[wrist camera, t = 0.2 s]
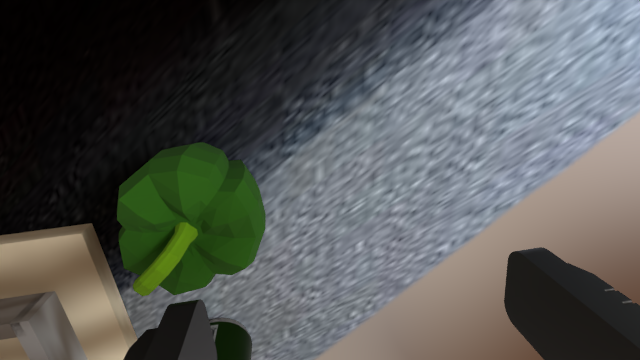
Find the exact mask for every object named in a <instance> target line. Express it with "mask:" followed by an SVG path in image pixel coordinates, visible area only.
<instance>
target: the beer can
mask: <svg viewBox="0 0 640 360" xmlns="http://www.w3.org/2000/svg"><path fill="white" fill-rule="evenodd" d="M209 323H210V326H211V330H212V334H213V338H214V342H215V346H216V351H217V360H251V351H252V341H251V337H250V335H249V333H248V331H247V329H246V328H245V327H244V325H242V324H241V323H239V322H238V321H236V320H233V319H230V318H216V319H212V320H209Z"/></svg>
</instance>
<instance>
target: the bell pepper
mask: <svg viewBox="0 0 640 360" xmlns="http://www.w3.org/2000/svg"><path fill="white" fill-rule="evenodd" d="M117 220H118V221H119V223H120V224H121V225H122V228H121V230H120V231H119V245H120V250H121V255H122V261H123V266H124V269H126V270H129V271H131V272H133V273H136V274H138V275H140V276H139V277H138V278H137V279H136V280H135V282H134V284H133V288H134V291H135V292H137V293H139V294H140V295H142V296H146V295H149V294H150V293H151V292H152V291H153V290H154V289H155V288H156V287H157V286H158V285H159V286H161V287H162V288H164V289H165V290H167V291H169V292H170V293H172V294H173V295H177V294H181V293H185V292H188V291H192V290H196V289H200V288H203V287H206V286H207V285H208V284H209V283H210V282H211V280H212V279H213V277H214V276H215V274H227V275H233V274H235V273H237V272H239V271H241V270H243V269H245V268H246V267H248V266H249V265H250V264H251V263H252V262H253V261H254V259H255V256H256V253H257V251H258V248H259V245H260V242H261V239H262V236H263V233H264V231H265V210H264V206H263V202H262V198H261V194H260V190H259V188H258V185H257V183H256V181H255V179H254V178H253V176H252V174H251V173H250V172H249V170H248V169H247V168H246V166H245V165H244V163H243V162H242V161H241V160H231V161H228V159H227V157H226V155H225V154H224V152H223V150H220V149H218V148H216V147H213V146H211V145H209V144H206V143H204V142H201V143H194V144H189V145H184V146H179V147H174V148H169V149H165V150H161V151H160V152H159V153H158V154H157V155H155V156H154V157H153V158H152V159H151V160H149V161H148V162H147V163H146V164H145V165H144V166H142V167H141V168H140V169H139V170H138V171H136V172H135V173H134V174H133V175H132V176H131V177H129V178H128V179H127V180H126V181H125V182H124V183H122V184H121V185H120V186H119V195H118V205H117Z"/></svg>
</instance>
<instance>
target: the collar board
mask: <svg viewBox="0 0 640 360" xmlns="http://www.w3.org/2000/svg"><path fill="white" fill-rule="evenodd" d="M137 340H138V339H137V337H136V334H135V332H134V329H133V327H132V324H131V321H130V319H129V316H128V314H127V311H126V309H125V306H124V304H123V301H122V298H121V296H120V293H119V291H118V288H117V286H116V283H115V281H114V278H113V275H112V273H111V270H110V268H109V265H108V263H107V260H106V258H105V255H104V253H103V250H102V247H101V245H100V242H99V240H98V237H97V235H96V232H95V230H94V227H93V224H92V223H89V224H82V225H75V226H67V227H60V228H53V229H45V230H38V231H30V232H23V233H16V234H8V235H1V236H0V360H123V359H124V357H125V355H126V353H127V351H128V350H129V348H130V347H131V346H132V345H133V344H134V343H135V342H136V341H137Z"/></svg>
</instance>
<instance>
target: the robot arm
mask: <svg viewBox="0 0 640 360" xmlns="http://www.w3.org/2000/svg"><path fill="white" fill-rule="evenodd" d="M504 299H505V300H504V303H505V308H506V312H507V314H508V316H509V319H510V320H511V322H512V324H513V325H514V326H515V327H516V328H517V329H518V331H519V332H520V333H521V334H522V335H523V336H524V337H525V339H526V340H527V341H528V342H529V343H530V344H531V345H532V346H533V348H534V349H535V350H536V351H537V352H538V353H539V354H540V355H541V357H542V358H543V359H544V360H640V306H639V305H638V304H637V303H632V301H631V299H629V298H628V297H626V296H625V295H623V294H622V293H620V292H619V291H615V290H614V288H613V287H612V286H610V285H609V284H607V283H606V282H604V281H603V280H601V279H600V278H598V277H597V276H596V275H594V274H592V273H590V272H587V271H585V270H582V269H580V268H578V267H576V266H573V265H571V264H569V263H568V264H567V263H566V262H564V261H563V260H561V259H560V258H559V257H557V256H556V255H554V254H553V253H552V252H550V251H549V250H547V249H545V248H534V249H528V250H522V251H515V252H512V253H511V254H510V255H509V258H508V266H507V277H506V287H505V298H504ZM123 360H217V351H216V346H215V342H214V338H213V334H212V330H211V326H210V323H209V319H208V315H207V311H206V307H205V304H204V302H203V301H202V300H194V301H188V302H181V303H175V304H170V305H169V306H168V307H167V309H166V311H165V313H164V315H163V317H162V320H161V322H160V324H159V326H158V328H155V329H149V330H146V331H145V332H144V333H143V334H142V336H141V337H140V338H139V339H138V340H137V341H136V342H135V343H134V344H133V345H132V346H131V347H130V348H129V350H128V351H127V353H126V355H125V357H124V359H123Z"/></svg>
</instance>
